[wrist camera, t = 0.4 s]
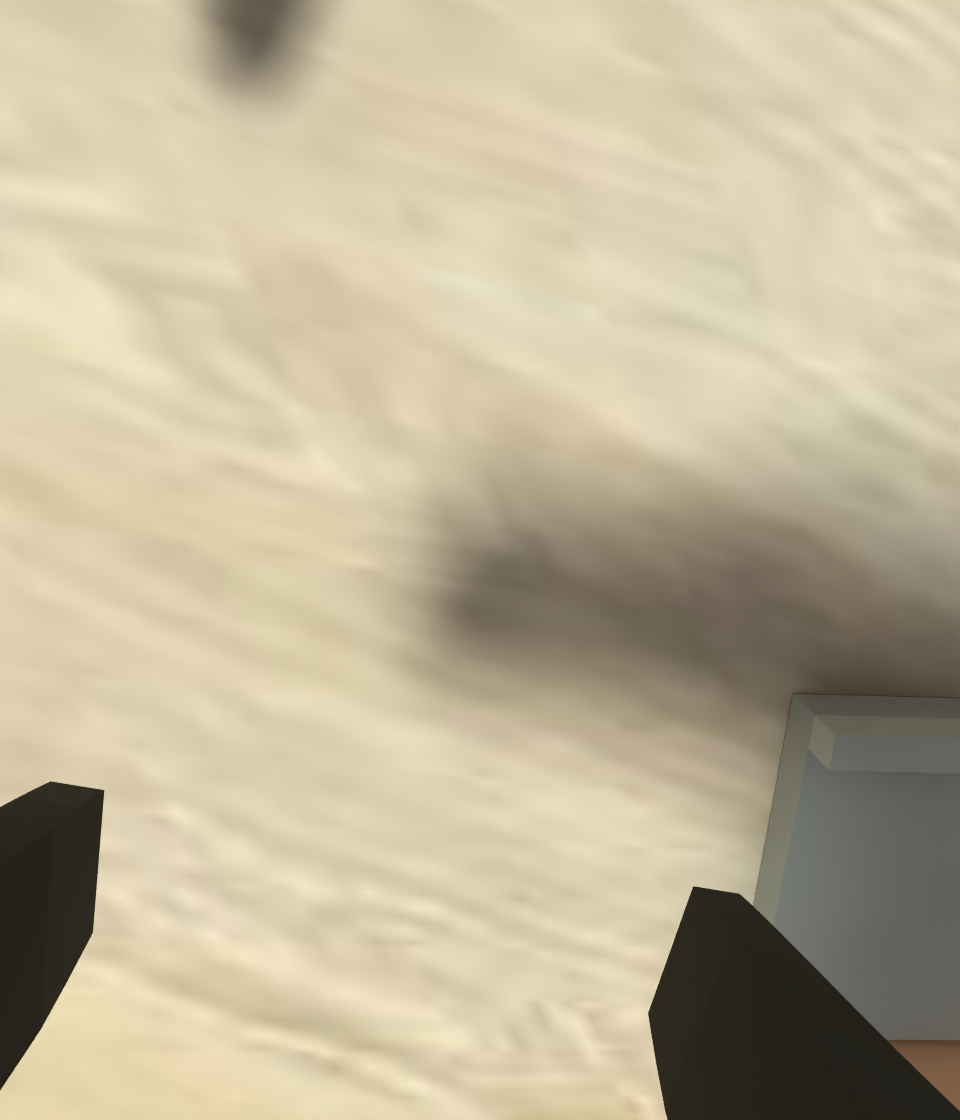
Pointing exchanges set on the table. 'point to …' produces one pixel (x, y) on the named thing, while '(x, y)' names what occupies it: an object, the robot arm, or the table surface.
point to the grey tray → (872, 855)
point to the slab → (935, 1063)
